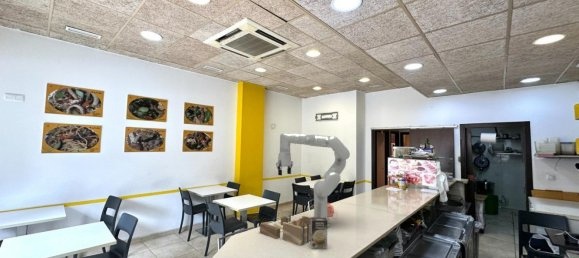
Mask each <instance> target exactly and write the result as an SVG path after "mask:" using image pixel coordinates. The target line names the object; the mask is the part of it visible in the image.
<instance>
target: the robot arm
mask: <svg viewBox="0 0 579 258" xmlns="http://www.w3.org/2000/svg"><path fill="white" fill-rule="evenodd" d="M291 144H295V145H305V146H309V147H318V148H329V149H331V150H332V151H333V152H334V153H333V154H334V161H333V163H332V165H331V166H330V167H329V169H327V171H325V172H324V175H323V180H318V181H316V182H315V183H314V184H313V201H314V202H313V217H322V218H326V219H327V221H328V224H327V228H329V227H330V223H329V221H330V220H331V217H330V216H327V204H328V196H330V195H331V194H332V193H333V192H334V190H335V189H336V188H337V187H338V185H339V184H340V182H341V174H342V173H343V171H344V169H345V168H346V165H347V160H348V159H349V158H350V156H351V155H350V154H351V153H350V150H349V149H348V148H347V146H346V145H344V143H343V142H342V141H341V140H340V139H339V138H338V137H337V136H334V135H321V134H299V133H296V132H295V133H280V135H279V153H278V157H277V162H276V163H275V166H276V169H277V175H278V176H283V168H285V167H287V168H286V174H288V175H291V174H292V168H293V165H294V162H293V161H292V153H291Z"/></svg>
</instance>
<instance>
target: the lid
mask: <svg viewBox="0 0 579 258" xmlns="http://www.w3.org/2000/svg"><path fill="white" fill-rule="evenodd" d="M284 217H286V223H288V222H289V216H282V217H280V222H276V223H273V224H271V225H272V226H275V227H278V228H280V233H283V222H284Z"/></svg>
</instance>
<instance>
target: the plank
mask: <svg viewBox="0 0 579 258" xmlns="http://www.w3.org/2000/svg"><path fill="white" fill-rule="evenodd" d="M272 225H273V224H269V223H266V222H261V223H259V234H261V235H265V236H267V237H269V238H272V239H274V240H275V239H276V240H278V239H281V232H280V228H278V227H275V226H272Z"/></svg>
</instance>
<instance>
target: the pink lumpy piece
mask: <svg viewBox="0 0 579 258" xmlns="http://www.w3.org/2000/svg"><path fill="white" fill-rule="evenodd" d="M333 214H335V208H334V206H333V205H332V204H330V202H327V217H333Z"/></svg>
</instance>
